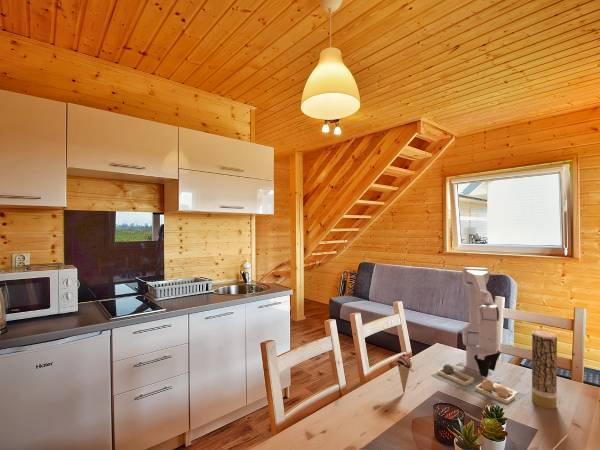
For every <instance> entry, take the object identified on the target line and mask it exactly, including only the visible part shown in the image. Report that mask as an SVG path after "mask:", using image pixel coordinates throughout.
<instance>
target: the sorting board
mask: <svg viewBox="0 0 600 450" xmlns="http://www.w3.org/2000/svg"><path fill="white" fill-rule="evenodd" d="M451 366H452V367H453V369H454V372H453V374H451V375H448V374H446V373H445V372H444V371H443V367H442V368H439V369H437V372H435V373H433V374H431V375H430V376H431V377H433V378H435V379H437V380H440V381H441V382H444V383H447V384H448V385H451V386H453V387H455V388H457V389H460V390H462V391H464V392H467V393H469V394H471V395H473V396H475V397H477V398H479V399H482V400H484V401H486V402H489V403H491V404H493V405H495V406H497V405H498V406H497V407H499V406H501V407H500V408H502V409H504V410H506V409H507V408H509V407H511V406H512V405H513V404H515V403H516V402H517V401H519V400H521V398H523V397H524V396H525V395H526V394H525V393H522V392H520V391H517V390H515V389H512V388H510V387H507V386H504V385H502V384H499V383H497V382H495V381H492V380H489V379H487V378H486V377H485V378H484V377H483V376H481V375H480V376H479V375H477V374H474V373H473V372H472V373H471V372H469V371H467V370H465V369H461V368H459V367H457V366H454V365H451ZM483 380H489V381H491V382H492V383H493V385H494V389H493V390H492V391H490V392H488V391H485V390H484V389H483V388H482V385H481V384H482V381H483ZM500 385H501V386H504V387H506V388H507V390H508V392H509V395H508V396H507V397H506V398H502V397H499V396H498V395H497V393H496V387H497V386H500Z"/></svg>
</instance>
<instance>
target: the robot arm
mask: <svg viewBox="0 0 600 450" xmlns="http://www.w3.org/2000/svg"><path fill="white" fill-rule="evenodd" d="M461 275H462V277H461V278H462V279H461V280H462V284H463V285H464V286H465V287H466V288H467V293H468V294H467V296H468V316H469V317H468V318H469V319H468V320H469V323H468V324H466V325H464V326H463V328H462V335H461V336H462V339H461V340H462V344H463V345H464V347H465V346H466V347H465V348H466V349H465V350H466V353H465V355H466V357H465V359H466V361H465V363H463V364H461V366H463V367H465V368H468V369H471V370H473V371H476V372H478V373H479V374H480V377H483V378H484V377H485V378H488V375H489V372H490V371H495V369H496V365H497V362H498V359H499V357H500V356H501V353H502V352H501V351H499V350H498V344H497V343H498V341H497V339H498V338H497V337H498V335H497V333H498V332H497V331H498V329H497V328H498V322H499V321H500V311H499V310H500V308H499V306H498V305H497V303H494V300H493V299H494V298H493V295H492V294H491V292H490V291H488V290H487V284H488V282H489V280H490V270H489V269H488V268H487V267H474V266H473V267H472V266H471V267H469V266H464V267H463V268H462V270H461Z"/></svg>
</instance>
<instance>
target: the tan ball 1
mask: <svg viewBox="0 0 600 450" xmlns="http://www.w3.org/2000/svg"><path fill="white" fill-rule="evenodd" d="M491 381H492V380H490V381H489V379H487V380H483V381H482V384H481V385H482V388H483V389H484V390H485V391H488V392H490V391H492V390H493V389H494V385H493V383H492V382H493V381H492V382H491Z"/></svg>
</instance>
